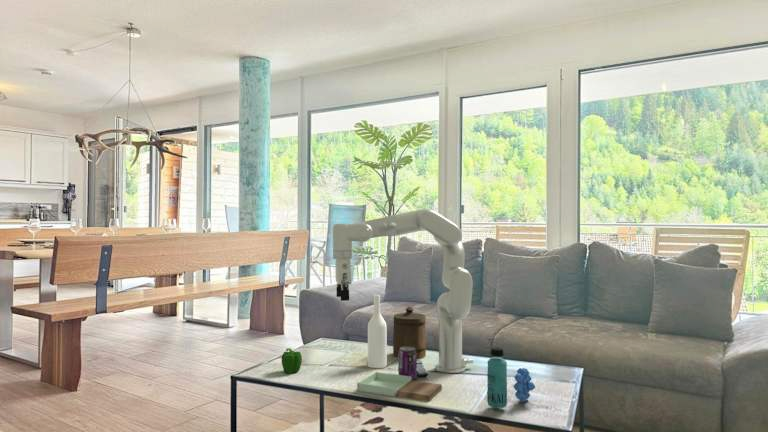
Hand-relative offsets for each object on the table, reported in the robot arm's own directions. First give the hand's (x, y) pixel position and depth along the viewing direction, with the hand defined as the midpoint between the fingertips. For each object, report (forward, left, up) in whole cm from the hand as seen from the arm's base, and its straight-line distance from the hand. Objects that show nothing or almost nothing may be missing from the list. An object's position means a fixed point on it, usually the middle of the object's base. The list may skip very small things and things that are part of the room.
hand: (342, 298), depth 204 cm
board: (-23, +25, -31) cm, 46 cm away
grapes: (-55, +43, -31) cm, 77 cm away
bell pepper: (+19, -14, -32) cm, 39 cm away
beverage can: (-24, +8, -31) cm, 40 cm away
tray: (-13, +16, -31) cm, 37 cm away
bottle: (-17, -13, -31) cm, 38 cm away
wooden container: (-35, -25, -32) cm, 53 cm away
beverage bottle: (-43, +46, -31) cm, 70 cm away
